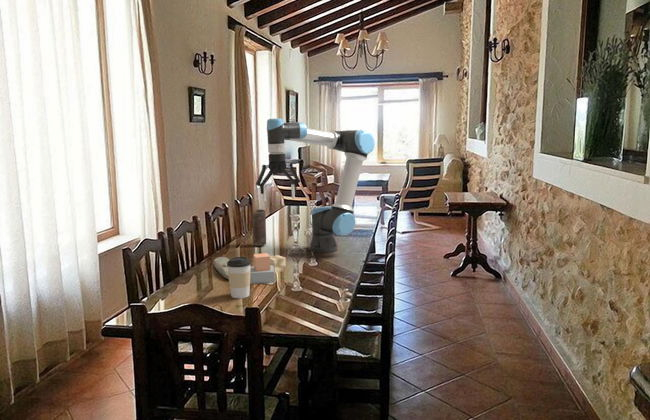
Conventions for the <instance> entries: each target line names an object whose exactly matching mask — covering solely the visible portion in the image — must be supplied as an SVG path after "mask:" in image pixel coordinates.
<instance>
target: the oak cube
mask: <svg viewBox="0 0 650 420" xmlns="http://www.w3.org/2000/svg"><path fill="white" fill-rule="evenodd" d="M286 260H287V258H286V257H284V256H281V255H272V256H270V265H273V267H274V274H276V273H280V272H284V271H287V265H286V262H287V261H286Z"/></svg>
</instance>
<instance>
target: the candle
mask: <svg viewBox="0 0 650 420" xmlns="http://www.w3.org/2000/svg"><path fill="white" fill-rule="evenodd" d="M266 213H267V212H266V210H265V209H255V210H252V245H253V246H255V247H262V246H264V245H267V221H266V220H267V219H266V218H267V217H266V215H267V214H266Z"/></svg>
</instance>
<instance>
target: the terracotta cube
mask: <svg viewBox="0 0 650 420" xmlns="http://www.w3.org/2000/svg"><path fill="white" fill-rule="evenodd" d="M270 257H271V256H270V255H269V254H268V252H264V253H254V254H253V266H254V269H255V270H256V272H257V271H267V270H270Z"/></svg>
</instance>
